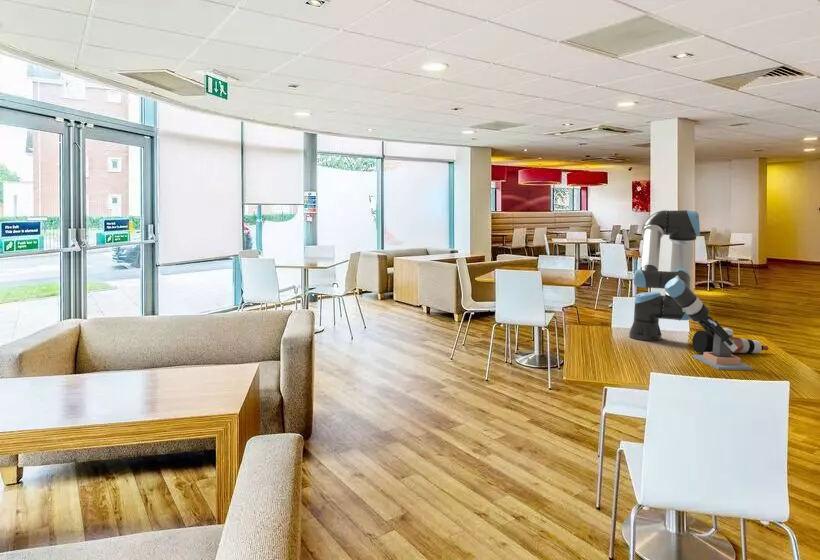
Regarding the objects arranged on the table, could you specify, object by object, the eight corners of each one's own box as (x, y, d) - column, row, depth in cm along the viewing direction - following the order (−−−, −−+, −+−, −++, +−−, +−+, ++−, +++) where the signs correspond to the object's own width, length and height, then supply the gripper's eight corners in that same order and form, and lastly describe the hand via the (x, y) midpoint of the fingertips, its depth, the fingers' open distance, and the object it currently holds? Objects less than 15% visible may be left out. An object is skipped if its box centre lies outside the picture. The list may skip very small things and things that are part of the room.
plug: (712, 355, 234) (714, 327, 233) (723, 355, 234) (726, 327, 233) (719, 358, 229) (721, 330, 228) (730, 358, 229) (733, 330, 228)
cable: (767, 363, 250) (779, 347, 244) (700, 357, 245) (710, 340, 240) (755, 349, 258) (766, 332, 253) (689, 342, 253) (699, 325, 248)
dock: (692, 356, 242) (692, 349, 242) (723, 357, 242) (724, 349, 242) (718, 369, 222) (718, 361, 222) (752, 369, 222) (753, 361, 222)
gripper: (677, 311, 239) (712, 349, 241) (700, 319, 221) (737, 359, 223) (690, 299, 238) (725, 337, 240) (714, 306, 220) (751, 347, 222)
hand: (731, 348), depth 232 cm, fingers closed on plug, 5 cm apart
